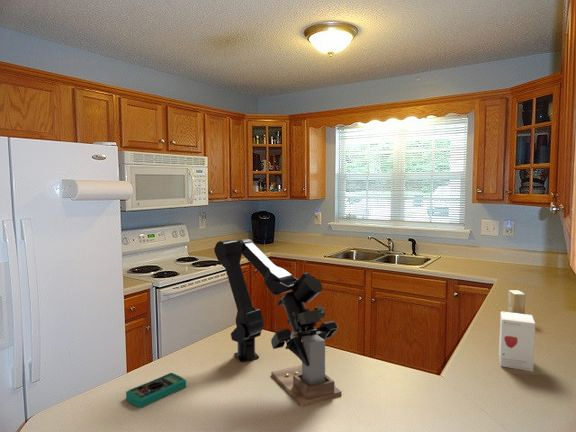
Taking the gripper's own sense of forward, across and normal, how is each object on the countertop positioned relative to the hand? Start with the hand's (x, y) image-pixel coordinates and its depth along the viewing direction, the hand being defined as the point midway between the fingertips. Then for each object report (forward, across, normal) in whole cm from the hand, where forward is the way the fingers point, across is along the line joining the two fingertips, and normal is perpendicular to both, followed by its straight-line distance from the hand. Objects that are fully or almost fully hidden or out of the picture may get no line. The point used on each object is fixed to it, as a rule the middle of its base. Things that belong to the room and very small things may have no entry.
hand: (316, 363), depth 107 cm
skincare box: (-3, +102, +16) cm, 103 cm away
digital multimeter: (-8, -38, +21) cm, 44 cm away
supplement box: (+14, +65, -2) cm, 67 cm away
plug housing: (+4, 0, +6) cm, 7 cm away
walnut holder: (+2, 0, +10) cm, 11 cm away
